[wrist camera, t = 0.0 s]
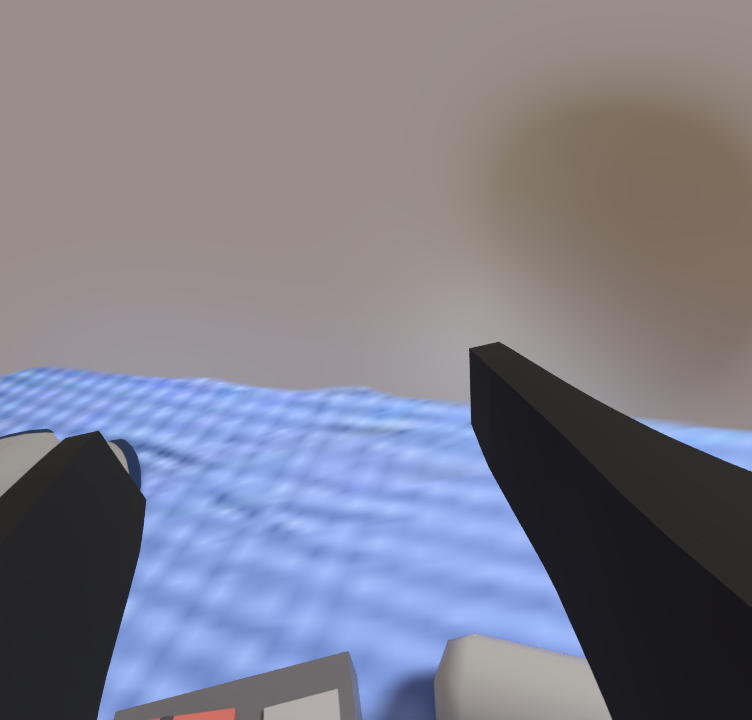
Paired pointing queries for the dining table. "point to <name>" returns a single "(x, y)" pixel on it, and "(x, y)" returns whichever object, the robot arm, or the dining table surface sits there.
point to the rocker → (205, 715)
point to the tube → (514, 683)
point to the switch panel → (272, 695)
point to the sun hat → (24, 449)
